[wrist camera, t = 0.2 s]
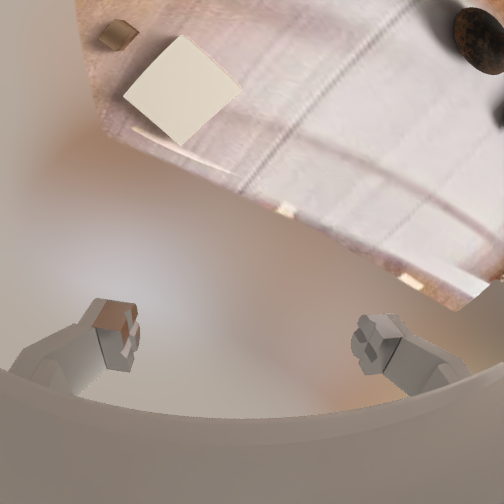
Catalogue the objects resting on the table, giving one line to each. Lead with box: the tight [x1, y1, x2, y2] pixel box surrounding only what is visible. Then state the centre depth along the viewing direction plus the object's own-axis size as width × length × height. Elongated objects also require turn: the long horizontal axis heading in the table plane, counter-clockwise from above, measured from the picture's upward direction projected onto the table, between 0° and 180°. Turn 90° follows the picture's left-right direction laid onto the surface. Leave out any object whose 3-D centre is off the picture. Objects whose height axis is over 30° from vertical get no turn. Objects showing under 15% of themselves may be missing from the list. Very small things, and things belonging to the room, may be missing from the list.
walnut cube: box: [98, 19, 139, 51], centre depth 34 cm, size 5×5×5 cm
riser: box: [123, 34, 243, 146], centre depth 44 cm, size 16×16×6 cm
